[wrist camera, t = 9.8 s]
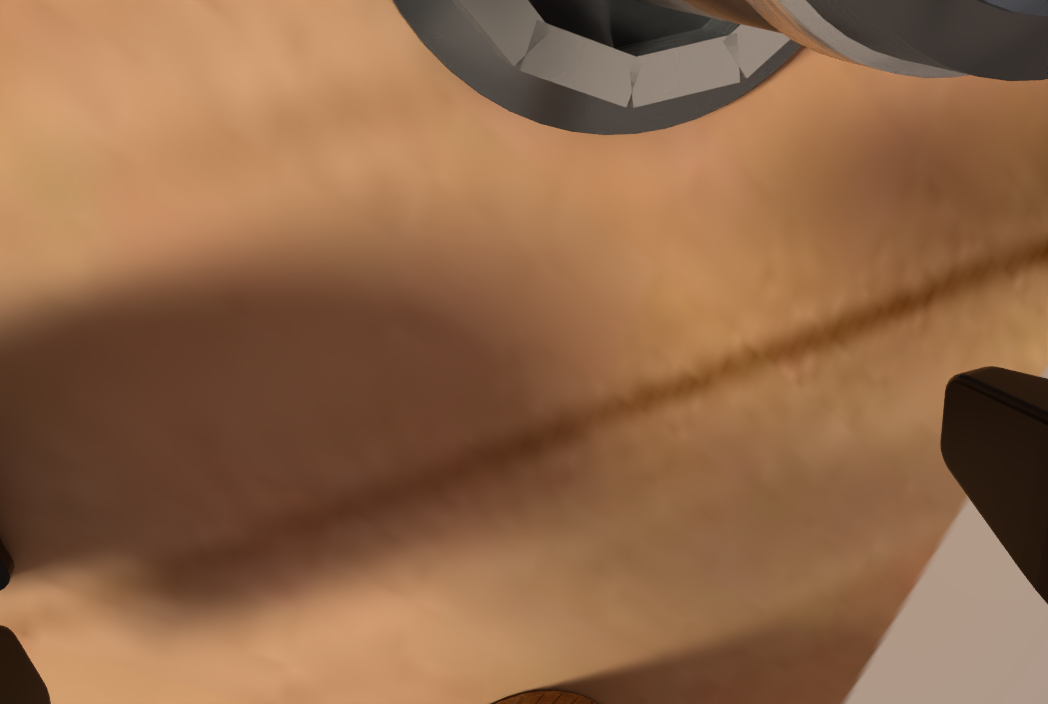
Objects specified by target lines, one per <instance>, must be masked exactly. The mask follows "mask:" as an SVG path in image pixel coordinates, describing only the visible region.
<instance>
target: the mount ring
mask: <svg viewBox="0 0 1048 704" xmlns="http://www.w3.org/2000/svg"><path fill="white" fill-rule="evenodd" d="M392 2H393V3H394V5H395V7H396V9H397V10H398V12H399V13H400V15H401V16H402V17H403V18H404V20H405V21H406V22H407V24H408V25H409V26H410V28H411V29H412V30H413V32H414V33H415V34H416V35H417V37H418V38H419V39H420V41H421V42H422V43H423V44H424V45H425V46H426V47H427V48H428V49H429V50H430V51H431V52H432V53H433V54H434V55H435V56H436V57H437V58H438V59H439V60H440V61H441V62H442V63H443V64H444V65H445V66H446V67H447V68H448V69H449V70H450V71H451V72H452V73H454V74H455V75H456V76H457V77H459V78H460V79H461V80H463V81H464V82H465V83H466V84H468V85H469V86H470V87H472V88H473V89H474V90H475V91H477V92H478V93H479V94H481V95H483V96H484V97H486V98H488V99H489V100H491V101H493V102H495V103H496V104H498V105H500V106H502V107H503V108H505V109H507V110H509V111H510V112H513V113H515V114H518V115H520V116H523V117H525V118H528V119H530V120H533V121H535V122H538V123H540V124H544V125H548V126H552V127H556V128H560V129H564V130H568V131H572V132H581V133H590V134H600V135H614V134H637V133H642V132H648V131H654V130H659V129H665V128H669V127H672V126H675V125H678V124H682V123H685V122H688V121H691V120H694V119H697V118H699V117H702V116H704V115H706V114H708V113H710V112H712V111H714V110H717V109H719V108H721V107H723V106H725V105H727V104H729V103H730V102H732V101H734V100H735V99H737V98H738V97H740V96H742V95H743V94H745V93H746V92H748V91H750V90H751V89H753V88H754V87H756V86H757V85H758V84H759V83H761V82H762V81H763V80H764V79H766V78H767V77H768V76H769V75H771V74H772V73H773V72H774V71H776V70H777V69H778V68H779V67H781V66H782V65H783V64H784V63H785V62H786V61H787V60H788V59H789V58H790V57H791V56H792V55H793V54H794V53H795V52H796V51H797V50H798V49H799V48H800V47H801V46H802V45H801V44H799V43H797V42H795V41H793V40H791V39H790V38H788V37H787V36H786V35H784V34H783V33H778V32H774V31H769V30H765V29H760V28H755V27H751V26H746V25H742V24H737V23H733V22H728V21H724V20H719V19H715V18H710V17H706V16H701V15H696V14H692V13H687V12H683V11H678V10H674V9H669V8H665V7H660V6H656V5H651V4H647V3H642V2H637V1H633V0H392Z"/></svg>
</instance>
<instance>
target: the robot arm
mask: <svg viewBox="0 0 1048 704" xmlns="http://www.w3.org/2000/svg"><path fill="white" fill-rule="evenodd" d="M941 452H942V456H943V459H944V461H945V463H946V466H947V467H948V469H949V471H950V472H951V473H952V475H953V476H954V478H955V479H956V480H957V482H958V483H959V485H960V486H961V487H962V489H963V490H964V492H965V493H966V494H967V496H968V497H969V499H970V500H971V501H972V503H973V504H974V505H975V507H976V508H977V510H978V511H979V513H980V514H981V515H982V517H983V518H984V519H985V521H986V522H987V524H988V525H989V526H990V528H991V529H992V531H993V532H994V533H995V535H996V536H997V538H998V539H999V541H1000V542H1001V543H1002V545H1003V546H1004V547H1005V549H1006V550H1007V551H1008V553H1009V555H1010V556H1011V557H1012V559H1013V560H1014V562H1015V563H1016V564H1017V566H1018V567H1019V568H1020V570H1021V571H1022V573H1023V574H1024V575H1025V576H1026V578H1027V579H1028V580H1029V582H1030V583H1031V584H1032V586H1033V587H1034V588H1035V590H1036V591H1037V592H1038V593H1039V594H1040V596H1041V597H1042V598H1043V599H1044V600H1045V601H1046V603H1047V604H1048V379H1046V378H1042V377H1038V376H1034V375H1029V374H1025V373H1021V372H1017V371H1012V370H1008V369H1004V368H1000V367H994V366H990V367H983V368H979V369H975V370H971V371H968V372H964V373H960V374H957V375H955V376H953V377H952V378H951V379H950V380H949V382H948V384H947V385H946V390H945V399H944V409H943V420H942V431H941ZM14 567H15V566H14V562H13V560H12V558H11V556H10V555H9V553H8V551H7V550H6V548H5V546H4V545H3V543H2V541H1V540H0V590H2V589H4V588H5V587H6V586H7V585H8V584H9V581H10V579H11V577H12V574H13V571H14ZM0 704H51V702H50V696H49V693H48V690H47V687H46V685H45V683H44V682H43V680H42V678H41V677H40V675H39V673H38V672H37V670H36V668H35V667H34V665H33V663H32V662H31V660H30V658H29V657H28V655H27V653H26V652H25V650H24V649H23V647H22V645H21V644H20V642H19V640H18V639H17V637H16V636H15V634H14V633H13V632H12V631H11V630H10V629H9V628H7V627H5V626H1V625H0Z"/></svg>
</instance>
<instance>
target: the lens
mask: <svg viewBox="0 0 1048 704" xmlns="http://www.w3.org/2000/svg"><path fill="white" fill-rule="evenodd" d="M633 1H637V2H642V3H647V4H651V5H656V6H660V7H665V8H669V9H674V10H678V11H683V12H687V13H692V14H696V15H701V16H706V17H710V18H715V19H719V20H724V21H728V22H733V23H737V24H742V25H746V26H751V27H755V28H760V29H765V30H769V31H774V32H778V33H783V34H784V35H786V36H787V37H788V38H790V39H791V40H793V41H795V42H797V43H799V44H801V45H803V46H805V47H807V48H809V49H811V50H813V51H815V52H817V53H820V54H823V55H826V56H829V57H832V58H836V59H839V60H842V61H846V62H850V63H854V64H858V65H862V66H866V67H870V68H874V69H878V70H882V71H886V72H890V73H894V74H901V75H908V76H915V77H923V78H941V77H959V76H965V75H973V76H978V77H985V78H992V79H999V80H1006V81H1024V80H1044V79H1048V0H633Z"/></svg>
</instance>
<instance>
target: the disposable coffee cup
mask: <svg viewBox="0 0 1048 704" xmlns="http://www.w3.org/2000/svg"><path fill="white" fill-rule="evenodd" d="M495 704H598V703H596V702H595V701H593V700H591V699H590V698H587V697H584V696H581V695H579V694H576V693H569V692H561V691H540V692H531V693H526V694H521V695H518V696H514V697H511V698H508V699H505V700H502V701H500V702H498V703H495Z"/></svg>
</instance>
